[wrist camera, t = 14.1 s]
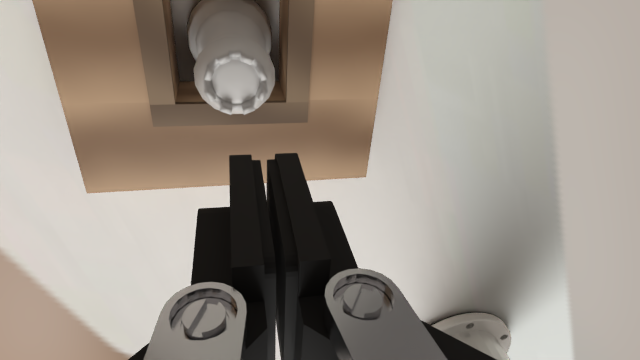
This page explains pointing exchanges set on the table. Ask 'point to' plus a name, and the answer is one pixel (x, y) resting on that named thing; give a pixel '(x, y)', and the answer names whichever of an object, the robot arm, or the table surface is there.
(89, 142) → the walnut board
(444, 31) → the table surface
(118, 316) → the table surface
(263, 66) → the rook chess piece
